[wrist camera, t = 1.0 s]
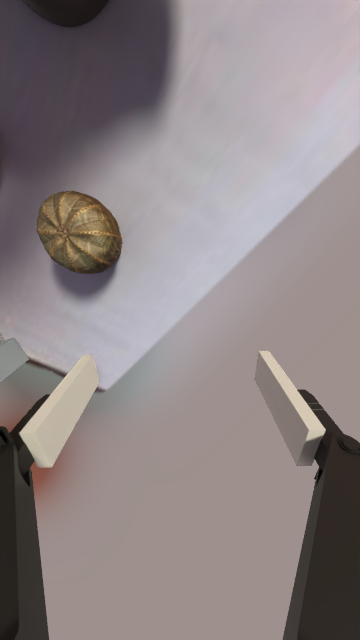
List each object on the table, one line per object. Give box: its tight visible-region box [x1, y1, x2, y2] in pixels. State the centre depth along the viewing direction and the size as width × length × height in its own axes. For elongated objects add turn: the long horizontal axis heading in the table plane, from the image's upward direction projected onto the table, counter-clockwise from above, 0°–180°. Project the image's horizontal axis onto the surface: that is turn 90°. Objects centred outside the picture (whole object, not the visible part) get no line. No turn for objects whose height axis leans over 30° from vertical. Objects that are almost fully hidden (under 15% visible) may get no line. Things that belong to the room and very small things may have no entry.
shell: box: [36, 191, 122, 274], centre depth 30 cm, size 11×11×12 cm
